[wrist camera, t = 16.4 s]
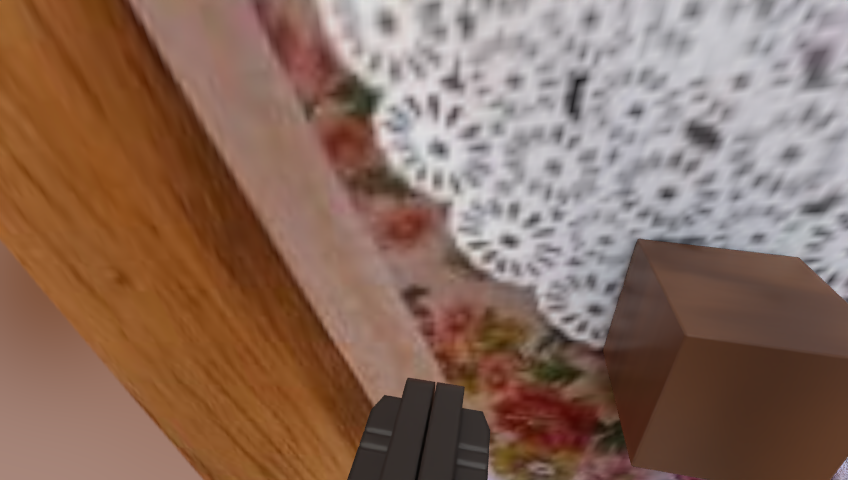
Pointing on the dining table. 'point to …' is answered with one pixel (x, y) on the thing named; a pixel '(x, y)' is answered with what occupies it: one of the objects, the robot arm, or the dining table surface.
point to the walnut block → (729, 365)
